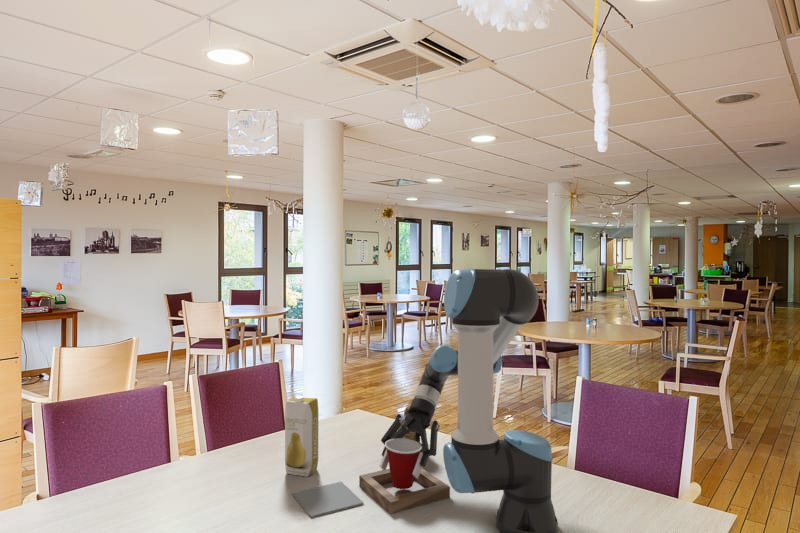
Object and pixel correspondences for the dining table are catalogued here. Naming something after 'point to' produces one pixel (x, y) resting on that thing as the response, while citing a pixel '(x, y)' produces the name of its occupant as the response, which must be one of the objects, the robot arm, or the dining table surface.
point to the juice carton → (301, 436)
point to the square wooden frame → (408, 500)
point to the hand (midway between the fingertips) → (398, 472)
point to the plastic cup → (402, 461)
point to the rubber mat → (327, 499)
